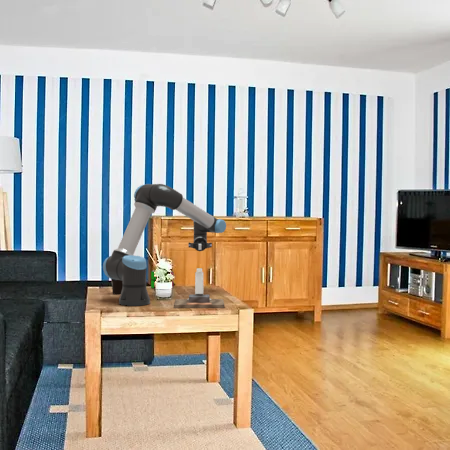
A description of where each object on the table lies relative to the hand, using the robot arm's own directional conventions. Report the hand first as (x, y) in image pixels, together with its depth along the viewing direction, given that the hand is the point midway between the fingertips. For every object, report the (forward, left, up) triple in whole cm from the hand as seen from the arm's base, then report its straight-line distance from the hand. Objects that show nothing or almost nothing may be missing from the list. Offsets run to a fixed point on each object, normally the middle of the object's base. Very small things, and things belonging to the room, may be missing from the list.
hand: (200, 247), depth 326 cm
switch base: (0, -18, -27) cm, 33 cm away
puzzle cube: (-22, +42, -27) cm, 55 cm away
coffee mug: (-44, +22, -27) cm, 56 cm away
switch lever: (0, -18, -22) cm, 29 cm away
